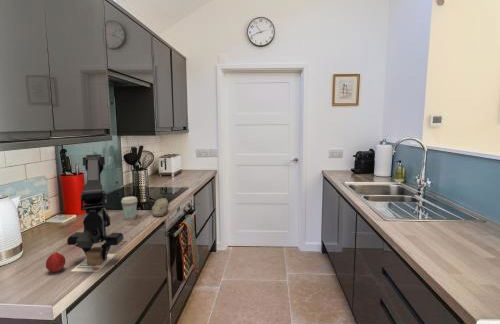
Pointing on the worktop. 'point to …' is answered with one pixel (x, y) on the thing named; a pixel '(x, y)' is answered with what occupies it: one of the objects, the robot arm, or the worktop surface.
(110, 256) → the letter
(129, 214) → the coffee cup
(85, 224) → the robot arm
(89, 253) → the walnut block
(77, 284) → the worktop surface
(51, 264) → the onion
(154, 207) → the long grey stone
